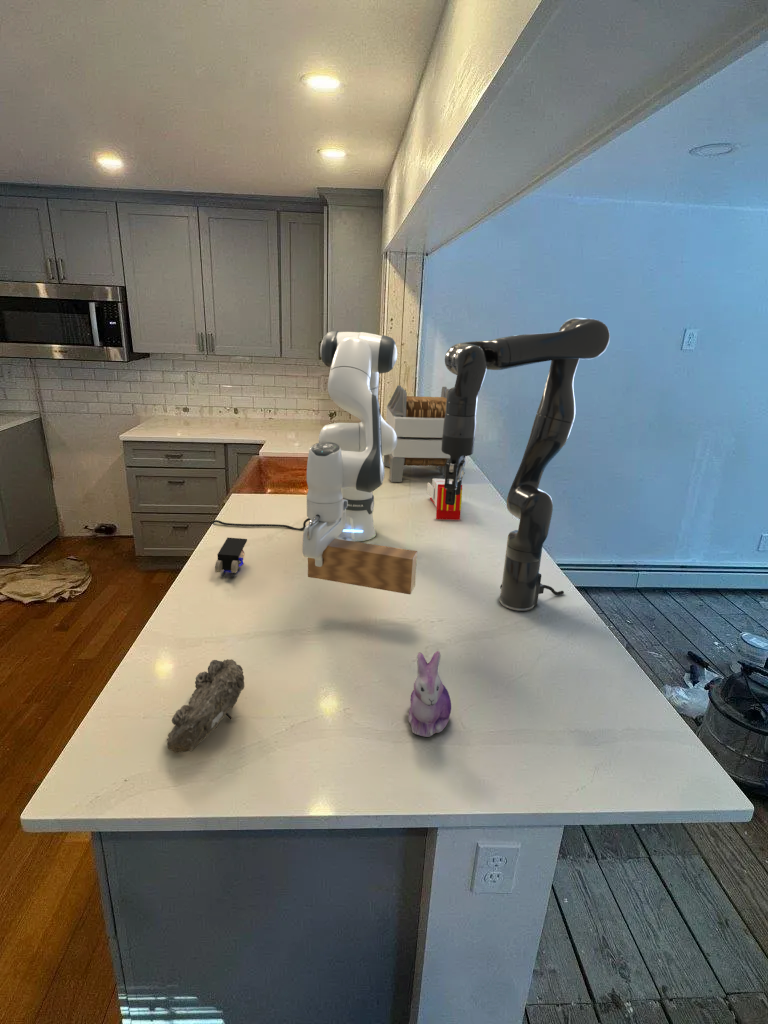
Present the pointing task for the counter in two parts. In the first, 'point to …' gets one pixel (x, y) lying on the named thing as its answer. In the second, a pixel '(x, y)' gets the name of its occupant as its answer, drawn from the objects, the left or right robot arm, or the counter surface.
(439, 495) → the toy
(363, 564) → the bar
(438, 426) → the transformer
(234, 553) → the figurine character
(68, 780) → the counter surface
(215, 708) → the fossil
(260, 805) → the counter surface
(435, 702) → the figurine
